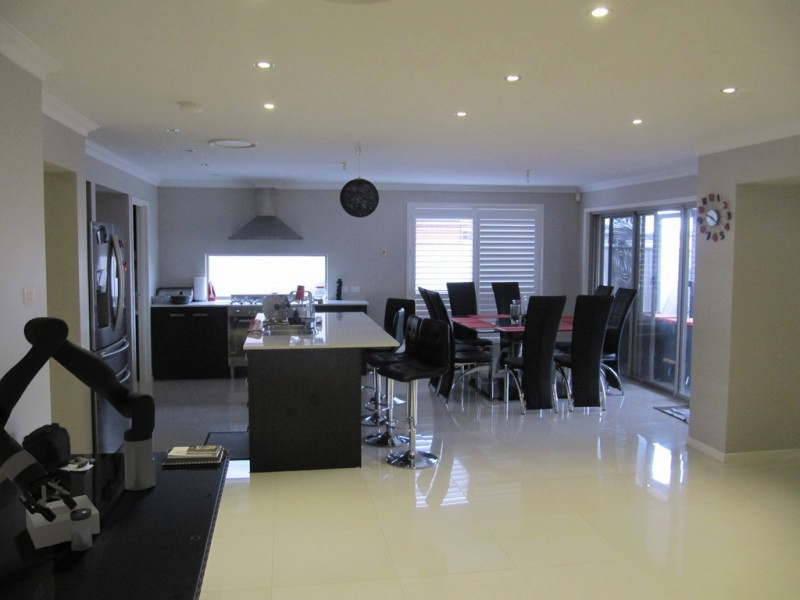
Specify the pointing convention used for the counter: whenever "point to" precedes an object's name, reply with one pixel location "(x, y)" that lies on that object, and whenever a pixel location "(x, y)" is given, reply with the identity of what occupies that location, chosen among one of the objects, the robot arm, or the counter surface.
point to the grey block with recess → (58, 522)
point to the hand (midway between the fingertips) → (64, 513)
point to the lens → (81, 529)
